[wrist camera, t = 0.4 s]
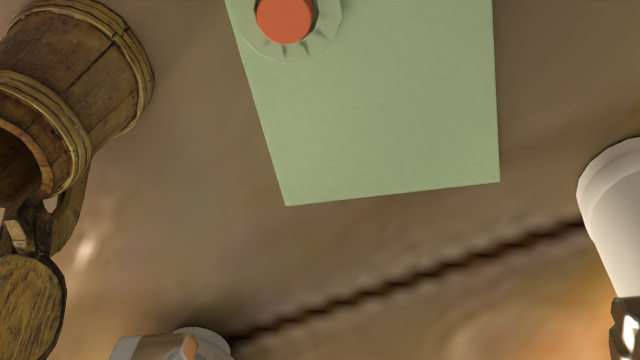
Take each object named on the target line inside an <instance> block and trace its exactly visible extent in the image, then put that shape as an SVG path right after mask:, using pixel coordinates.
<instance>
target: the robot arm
mask: <svg viewBox="0 0 640 360" xmlns="http://www.w3.org/2000/svg"><path fill="white" fill-rule="evenodd" d="M611 314H612V317H613V319H614V322H615V325H614V326H613V327H611V328H610V329H609V347H610V355H611V360H640V296H629V297H618V298H614V299H613V301H612V306H611ZM198 345H199V343H198V341H197V340H196V338H195V336H194V334H193V333H172V334H153V335H141V336H124V337H122V338H121V339H120V340H119V341H118V342H117V343H116V345H115V347H114V349H113V351H112V353H111V355H110V358H109V360H206V358H205V357H203V356H202V355H200V354H198V353H197V352H196V351H197V348H198Z"/></svg>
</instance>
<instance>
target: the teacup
mask: <svg viewBox="0 0 640 360" xmlns="http://www.w3.org/2000/svg"><path fill="white" fill-rule="evenodd" d="M173 333H193V334H194V336H195V338H196V340H197V341H198V343H199V345H198V348H197V351H196V352H197V353H198V354H200V355H202V356H203V357H205V358H206V360H234V359H233V358H232V357H231V356H230V347H229V345H228V343H227V342H226V341H225V340H224V339H223V338H222V337H221V336H220V335H218V334H216V333H215V332H213V331H210V330H208V329H204V328H201V327H185V328H180V329H178V330H176V331H174V332H173ZM171 334H172V333H171Z"/></svg>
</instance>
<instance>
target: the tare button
mask: <svg viewBox="0 0 640 360" xmlns="http://www.w3.org/2000/svg"><path fill="white" fill-rule="evenodd" d="M313 13H314V8H313V3H312V0H261V1H260V3H259V6H258V8H257V22H258V25H259V28H260V29H261V31H262V32H263V34H264V35H265V36H266V37H267V38H269V39H270V40H272V41H274V42H276V43H280V44H291V43H295V42H297V41H299V40H301V39H302V38H303V37H304V36H305V35H306V34H307V33H308V31H309V29H310V26H311V22H312V18H313Z"/></svg>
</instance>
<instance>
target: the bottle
mask: <svg viewBox="0 0 640 360" xmlns="http://www.w3.org/2000/svg"><path fill="white" fill-rule="evenodd" d="M576 198H577V201H578V205H579V208H580V211H581V214H582V217H583V220H584V224H585V227H586V229H587V232H588V234H589V236H590V238H591V239H592V240H593V241H594V243H595V245H596V248H597V250H598V252H599V255H600V257H601V259H602V261H603V264H604V266H605V268H606V270H607V273H608V275H609V277H610V280H611V282H612V284H613V286H614V289H615V291H616V293H617V295H618V297H629V296H640V137H637V138H631V139H627V140H625V141H623V142H621V143H618V144H616V145H614V146H612V147H610V148H607V149H606V150H605V151H603V152H602V153H601V154H600V155H599V156H597V157H596V158H595V159H594V160H592V161H591V162H590V163H589V165H588V166H587V168H586V169H585V171H584V172H583V174H582V175H581V177H580V178H579V182H578V187H577V192H576Z"/></svg>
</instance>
